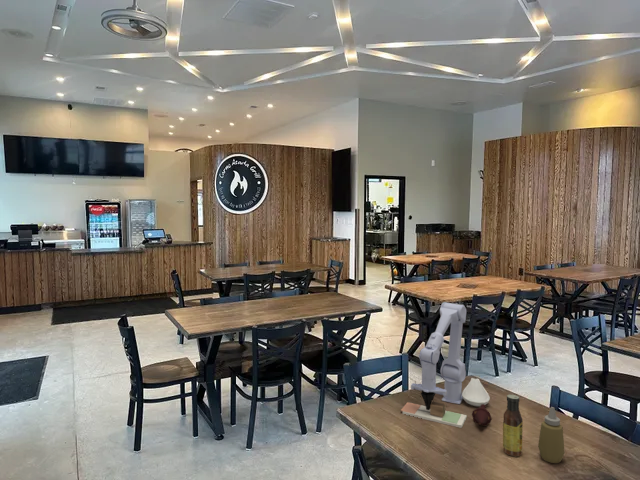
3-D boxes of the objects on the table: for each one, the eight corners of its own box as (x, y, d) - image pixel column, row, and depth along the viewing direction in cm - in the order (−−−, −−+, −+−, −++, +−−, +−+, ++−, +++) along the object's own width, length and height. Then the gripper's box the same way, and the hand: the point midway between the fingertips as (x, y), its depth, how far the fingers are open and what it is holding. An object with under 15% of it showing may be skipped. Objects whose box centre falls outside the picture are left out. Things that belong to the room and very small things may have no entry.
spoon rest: (490, 411, 184) (491, 395, 183) (461, 407, 187) (462, 391, 187) (486, 390, 206) (487, 375, 206) (460, 387, 210) (461, 372, 209)
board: (407, 404, 190) (407, 401, 190) (466, 417, 177) (466, 414, 177) (400, 413, 181) (400, 410, 181) (461, 428, 169) (461, 425, 169)
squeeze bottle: (540, 449, 153) (542, 400, 152) (566, 458, 148) (568, 406, 147) (535, 459, 147) (536, 408, 146) (561, 468, 142) (563, 415, 141)
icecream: (494, 418, 163) (493, 406, 177) (474, 410, 166) (475, 398, 180) (488, 435, 164) (488, 421, 178) (468, 427, 166) (470, 414, 180)
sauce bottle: (524, 458, 148) (525, 401, 147) (504, 456, 149) (506, 400, 148) (519, 448, 154) (520, 393, 153) (500, 446, 155) (502, 392, 154)
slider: (433, 409, 182) (433, 400, 181) (445, 412, 179) (445, 402, 179) (430, 414, 177) (430, 404, 177) (442, 417, 175) (442, 407, 175)
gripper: (408, 376, 179) (408, 408, 180) (444, 383, 172) (443, 416, 173) (414, 371, 186) (413, 402, 186) (448, 377, 178) (447, 409, 179)
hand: (428, 408), depth 180 cm, fingers closed
